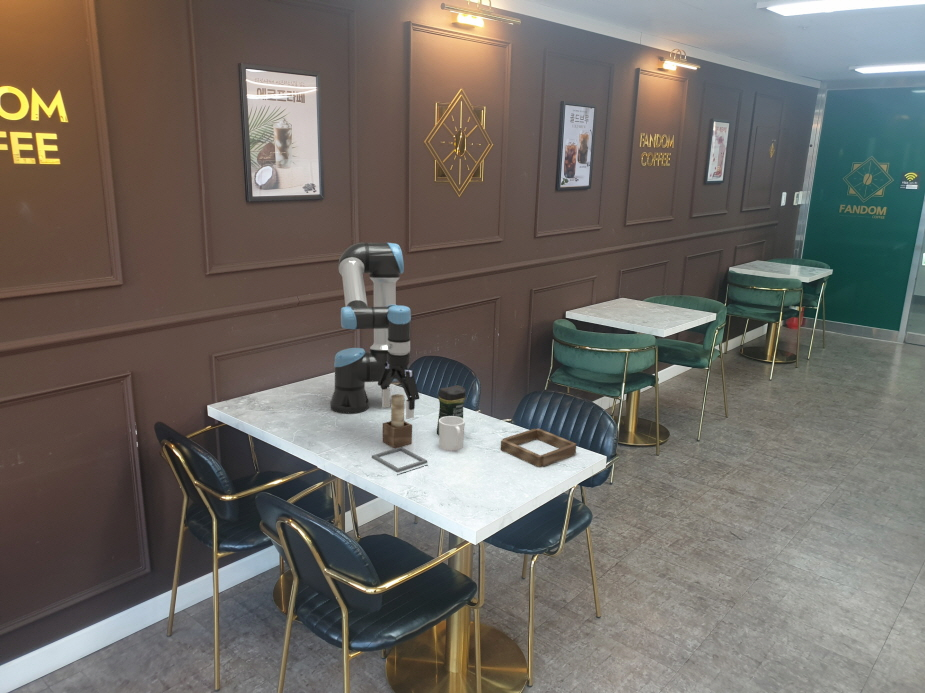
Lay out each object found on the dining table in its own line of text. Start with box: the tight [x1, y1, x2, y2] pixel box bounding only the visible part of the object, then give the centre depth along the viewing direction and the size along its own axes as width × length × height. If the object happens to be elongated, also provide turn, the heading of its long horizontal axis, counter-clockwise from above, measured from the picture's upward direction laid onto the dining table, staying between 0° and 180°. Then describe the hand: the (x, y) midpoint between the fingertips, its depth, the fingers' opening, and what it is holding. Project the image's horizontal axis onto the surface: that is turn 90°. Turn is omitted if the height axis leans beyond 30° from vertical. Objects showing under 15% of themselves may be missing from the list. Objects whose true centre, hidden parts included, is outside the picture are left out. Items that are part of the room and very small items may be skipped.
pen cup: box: [382, 420, 413, 449], centre depth 243 cm, size 7×7×8 cm
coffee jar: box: [436, 384, 467, 436], centre depth 253 cm, size 10×8×19 cm
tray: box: [371, 446, 428, 476], centre depth 230 cm, size 14×12×2 cm
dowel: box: [390, 393, 405, 428], centre depth 242 cm, size 4×4×17 cm
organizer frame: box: [500, 427, 577, 468], centre depth 244 cm, size 19×19×4 cm
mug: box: [438, 416, 466, 452], centre depth 241 cm, size 11×9×10 cm
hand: (397, 412), depth 241 cm, fingers open, 13 cm apart
